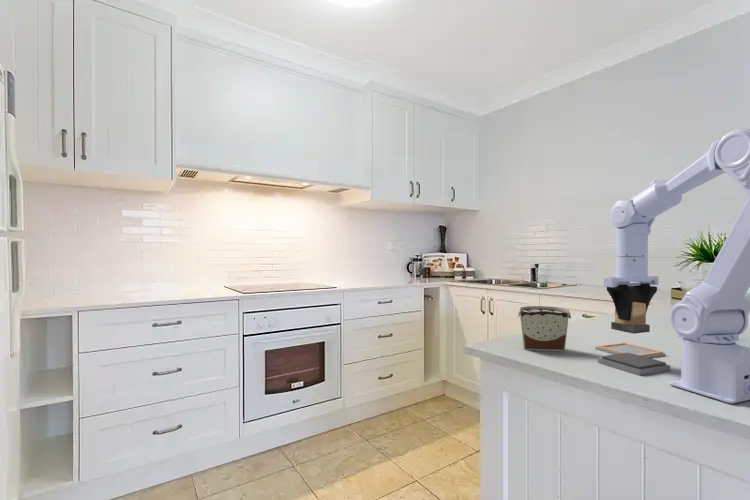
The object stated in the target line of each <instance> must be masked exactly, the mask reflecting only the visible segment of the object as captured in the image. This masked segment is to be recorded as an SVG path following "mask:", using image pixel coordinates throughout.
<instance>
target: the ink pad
mask: <svg viewBox="0 0 750 500" xmlns="http://www.w3.org/2000/svg"><path fill="white" fill-rule="evenodd" d="M597 359H598V360H597V362H598V364H601V365H605V366H607V367H611V368H615V369H618V370H621V371H624V372H626V373H631V374H634V375H637V376H645V375H649V374H651V375H652V374H655V373H660V372H661V373H662V372H667V371H671V365H670V364H667V363H666V361H661V360H659V359H654V358H647V357H643V356H639V355H635V354H632V353H621V354H608V355H602V356H601V357H598V358H597Z"/></svg>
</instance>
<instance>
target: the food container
mask: <svg viewBox="0 0 750 500" xmlns="http://www.w3.org/2000/svg"><path fill="white" fill-rule="evenodd" d="M517 317H518V318H520V322H521V323H520V326H521V333H522V343H523V350H526V351H548V350H555V352H565V351H566V344H567V343H566V342H567V336H568V335H567V333H568V324H569V319H571V320H572V315H571V312H570V310H569V309H567V308H563V307H558V306H557V307H556V306H543V305H532V306H531V305H530V306H529V305H528V306H521V307H520V308H519V310H518V313H517Z"/></svg>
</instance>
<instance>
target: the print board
mask: <svg viewBox="0 0 750 500" xmlns="http://www.w3.org/2000/svg"><path fill="white" fill-rule="evenodd" d="M594 349H595V350H598V351H600V352H601V351H602V352H606V353H609V354H611V355H614V354H621V353H632V354H635V355H639V356H643V357H647V358H651V359H653V358H655V357H656V358H658V357H663V356H666V353H665V352H664V351H663V350H662V351H661V350H657V349H652V348H648V347H645V346H640V345H636V344H633V343H632V344H631V343H628V342H616V343H610V344H602V345H601V344H600V345H596V346H595V347H594Z"/></svg>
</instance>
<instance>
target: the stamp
mask: <svg viewBox="0 0 750 500" xmlns="http://www.w3.org/2000/svg"><path fill="white" fill-rule="evenodd" d="M646 314H647V312H646V304H645V303H637V302H633V303H632V311H631V317H630V321H626V320H621V319H619V318H618V315H617V311H616V308H615V307H614V321H611V322H610V326H611V327H610V328H611V330H614V331H619V332H624V333H629V334H634V335H635V334H642V333H650V332H651V329H650V328H651V327H650V324H648V323H647V320H646V319H647V318H646V317H647V315H646Z"/></svg>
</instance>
